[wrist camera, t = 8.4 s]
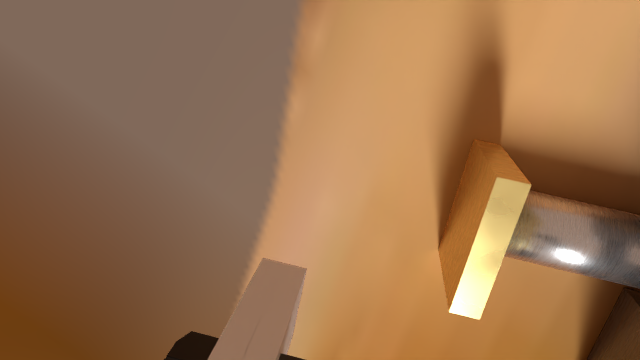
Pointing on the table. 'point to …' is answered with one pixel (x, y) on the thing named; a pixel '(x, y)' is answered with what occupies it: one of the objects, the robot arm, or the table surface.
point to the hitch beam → (620, 330)
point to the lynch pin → (527, 232)
